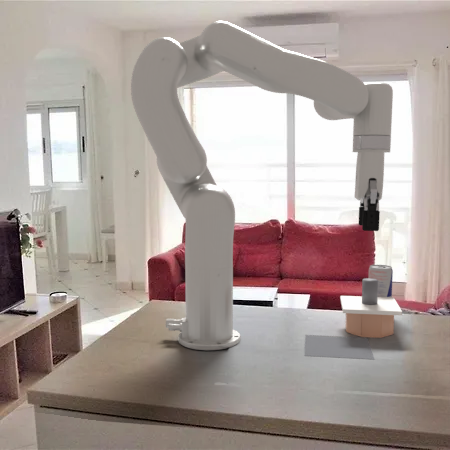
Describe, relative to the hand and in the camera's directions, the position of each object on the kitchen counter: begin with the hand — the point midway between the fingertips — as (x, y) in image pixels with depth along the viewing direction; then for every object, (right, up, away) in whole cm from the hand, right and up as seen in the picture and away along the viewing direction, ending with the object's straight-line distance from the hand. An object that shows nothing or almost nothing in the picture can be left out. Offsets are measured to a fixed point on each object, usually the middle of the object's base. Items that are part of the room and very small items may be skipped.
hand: (368, 227), depth 116 cm
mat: (-8, -23, -8) cm, 26 cm away
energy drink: (+6, -21, +14) cm, 26 cm away
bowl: (+1, -22, +3) cm, 22 cm away
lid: (+1, -17, +2) cm, 17 cm away
